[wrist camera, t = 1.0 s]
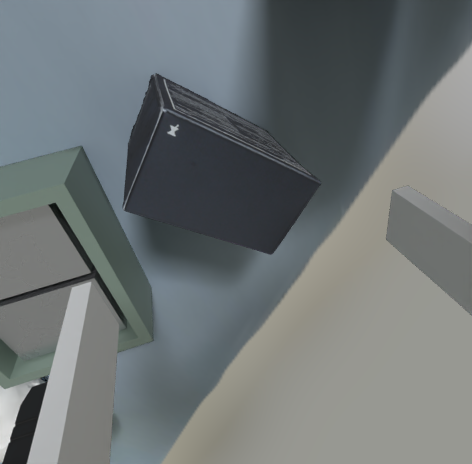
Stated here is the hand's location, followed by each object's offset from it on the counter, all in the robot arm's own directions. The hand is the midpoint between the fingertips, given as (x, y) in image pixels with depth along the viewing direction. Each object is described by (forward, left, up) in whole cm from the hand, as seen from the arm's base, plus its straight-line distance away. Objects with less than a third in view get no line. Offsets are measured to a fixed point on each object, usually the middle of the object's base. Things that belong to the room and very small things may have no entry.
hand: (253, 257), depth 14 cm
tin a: (+15, +2, -15) cm, 22 cm away
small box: (0, 0, -16) cm, 16 cm away
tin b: (+15, +9, -15) cm, 24 cm away
